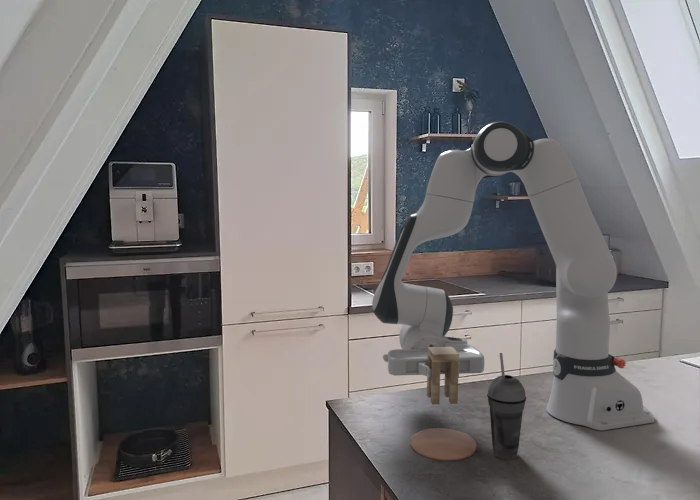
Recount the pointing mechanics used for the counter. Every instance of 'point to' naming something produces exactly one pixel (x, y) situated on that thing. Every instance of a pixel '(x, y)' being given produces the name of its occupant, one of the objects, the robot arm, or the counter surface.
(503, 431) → the beverage cup
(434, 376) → the stool
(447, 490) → the counter surface
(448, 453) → the coaster
